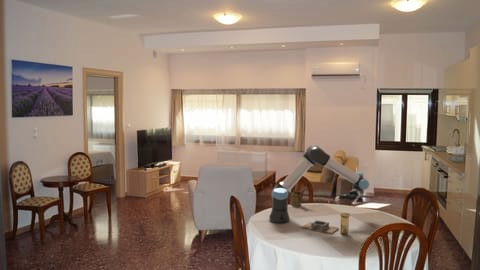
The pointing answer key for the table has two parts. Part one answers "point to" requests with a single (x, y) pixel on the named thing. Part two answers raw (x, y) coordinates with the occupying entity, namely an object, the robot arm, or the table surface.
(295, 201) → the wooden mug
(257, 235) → the table surface
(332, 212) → the table surface
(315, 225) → the wooden board with frame
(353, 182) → the robot arm
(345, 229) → the brass fitting
